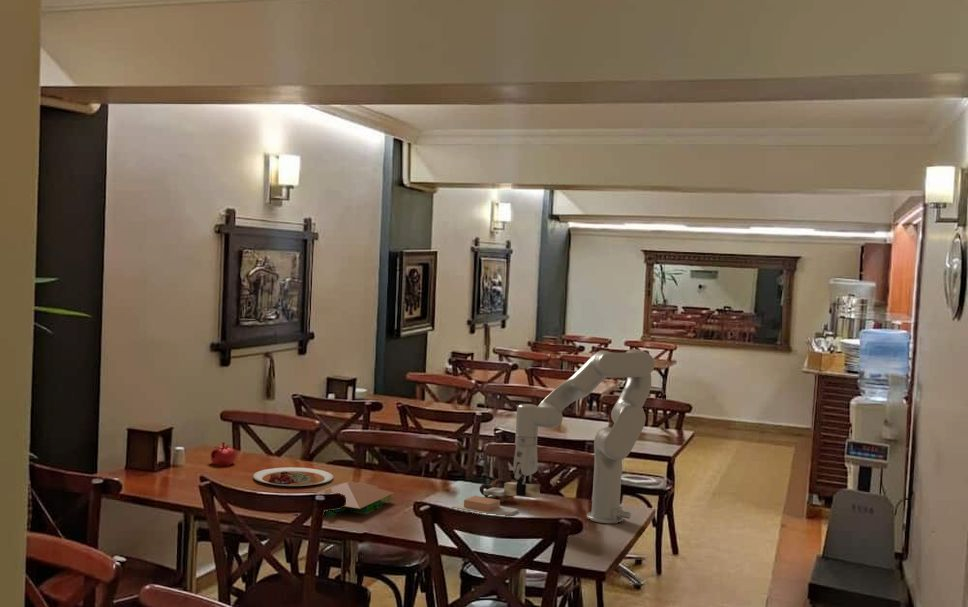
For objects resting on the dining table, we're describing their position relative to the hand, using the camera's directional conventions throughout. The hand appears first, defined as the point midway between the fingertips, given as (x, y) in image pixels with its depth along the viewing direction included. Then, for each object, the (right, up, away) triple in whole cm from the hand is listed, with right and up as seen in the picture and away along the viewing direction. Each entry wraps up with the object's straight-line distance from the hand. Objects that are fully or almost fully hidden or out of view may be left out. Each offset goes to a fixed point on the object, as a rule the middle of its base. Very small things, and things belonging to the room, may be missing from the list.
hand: (523, 493), depth 313 cm
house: (-61, -5, +5) cm, 61 cm away
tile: (-10, -5, +5) cm, 12 cm away
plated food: (-86, -3, +39) cm, 95 cm away
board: (-13, -7, +7) cm, 16 cm away
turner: (-4, -1, +2) cm, 4 cm away
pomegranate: (-119, 0, +57) cm, 132 cm away
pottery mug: (-11, -8, +24) cm, 28 cm away
